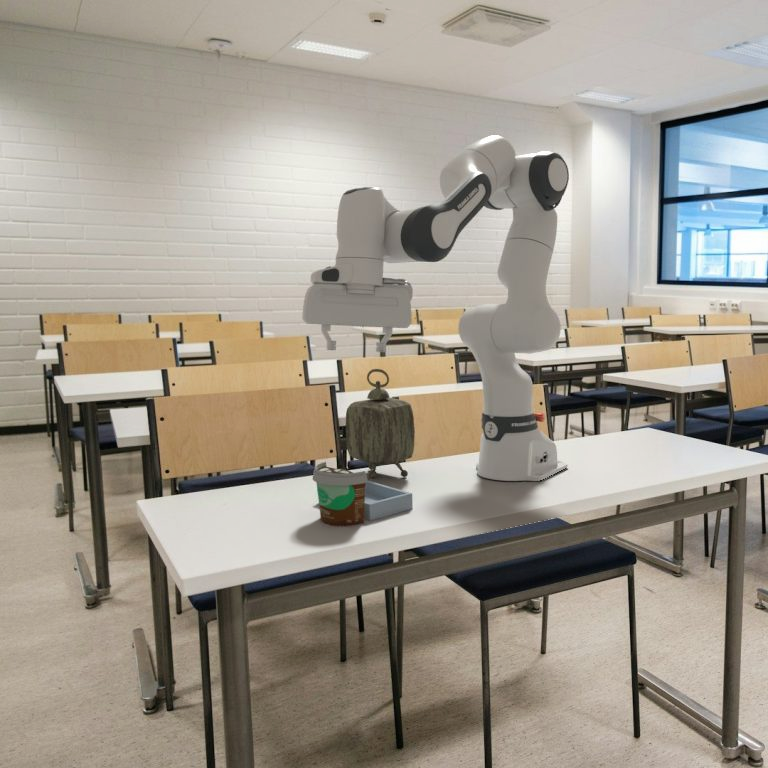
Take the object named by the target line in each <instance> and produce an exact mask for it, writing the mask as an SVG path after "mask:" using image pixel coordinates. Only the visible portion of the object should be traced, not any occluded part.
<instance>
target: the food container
mask: <svg viewBox="0 0 768 768" xmlns="http://www.w3.org/2000/svg"><path fill="white" fill-rule="evenodd" d="M366 472H367V471H366V470H363V471H358V472H357V471H356V472H352V471H350V470H348V469H346V468H333V467H329V466H327V461H323V462H320V463H317V464H316V465H315V467H314V470H313V475H312V481H313V482H314V483H315V484H316V488H317V489H316V491H317V499H318V506H319V514H320V521H321V523H323V524H324V525H328V526H332V527H353V526H354V527H355V526H358V525H362V524H364V523H365V519H364V504H365V483H367V482H368V481H369V479H368V475H367V473H366Z"/></svg>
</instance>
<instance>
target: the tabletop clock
mask: <svg viewBox="0 0 768 768" xmlns="http://www.w3.org/2000/svg"><path fill="white" fill-rule="evenodd" d="M372 373H382V374H383V375H384V376H385V378H386V382H385V383H383V384H381V381H380V380H377V381H376V382H372V381H371V380H370V375H371V374H372ZM366 379H367V382H368V384H369V385H370V386H372V387H374V388H373V389H371V390H370V391H369V393H368V395H367V397H366V399H364V400H358V401H357V400H356V401H354V402H352V403H350V404H349V406H347V408H346V412H345V413H346V414H345V439H346V448H347V451H348V452H347V453H348V456H350V457H351V458H353V459H355V460H357V461H360V462H363V463H367V464H368V469H369V470H371V472H369V473H370V474H369V476H370V477H371V478H372V479H375V478H376V477H377V476H378V472H377V471H376V470H377V466H379V465H380V466H385V465H390V464H393V465H395V466H396V468H398V469H399V471H400V476H401V477H403V478H406V477H408V473H409V472H408V471H407V470H405V469H403V467H402V465H401V463H400V462H401V461H405V460H408V459H411V458H413V455H414V451H415V433H416V432H415V418H414V412H413V408H412V405H411V404H410V403H409V402H407V401H406V400H403V399H399V398H393V397H390V394H389V392H388V391H387V390H386V389H384V387H387V385H388V384H389V382H390V377H389V374H388V373H387V371H385V370H383V369H380V368H374V369H371V370H369V372H367V375H366Z"/></svg>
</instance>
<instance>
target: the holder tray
mask: <svg viewBox="0 0 768 768" xmlns="http://www.w3.org/2000/svg"><path fill="white" fill-rule="evenodd" d="M413 507H414V506H413V492H410V491H406V490H402V489H398V488H395V487H392V486H388V485H385V484H382V483H378V482H374V481H371V480H368V482H367V483H365V504H364V520H367V521H370V522H371V521H374V520H378V519H383V518H386V517H390V516H393V515H395V514H398V513H403V512H406V511H409V510H413Z"/></svg>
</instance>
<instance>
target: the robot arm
mask: <svg viewBox="0 0 768 768" xmlns="http://www.w3.org/2000/svg"><path fill="white" fill-rule="evenodd" d="M569 178H570V175H569V168H568V164H567V163H566V161H565V160H564V158H563V157H562V155H561V154H559V153H558V152H552V151H540V152H537V153H528V154H521V155H516V150H515V149H514V146H513V145H512V143H510V141H509V140H508V139H506V138H505V137H503V136H500V135H494V134H493V135H489V136H485V137H483V138H480V139H478V140H477V141H474V142H473V143H471V144H469V145H468V146H466V147H465V148H463V149H462V150H461V151H459V152H458V153H457V154H455V155H454V156H452V158H450V159H449V161H448V162H447V163H446V164H445V165H444V166H443V168H442V170H441V171H440V176H439V185H440V190H441V192H442V195H443V197H444V199H443V200H442V201H441V202H440V203H436V204H429V205H425V206H420V207H417V208H411V209H406V210H400V209H398V208H397V207H395V206H394V205H393V204H392V203H390V201H389V200H388V199H387V198H386V196H384V191H383V189H382V188H379V187H377V186H364V187H357V188H353V189H352V188H351V189H348V190H346V191H345V192H344V193H343V194H342V196H341V197H340V200H339V205H338V210H337V220H336V238H337V243H338V248H337V252H336V255H335V265H334V266H333V265H331V266H327V267H325V268H322V269H318V270H315V271H313V272H312V273H311V274H310V282H311V286H309V287H308V288H307V289H306V292H305V295H304V300H303V305H302V317H301V318H302V320H303V322H304V323H305V325H321V327H320V330H321V333H322V335H323V337H324V339H325V340H326V350H327V351H336V350H337V347H336V345H337V340H332V338H331V336H330V334H329V332H330V331H331V329H332V328H331V326H347V327H349V326H350V327H365V328H366V327H369V328H382V334H384V336H383V337H382V339H381V341H380V342H377V341H376V344H375V346H376V348H375V351H376V353H377V352H378V353H386V351H387V343H388V341H389V340H390V338H391V337H392V335H393V331H394V329H408V328H409V327H410V326H411V324H412V322H413V321H412V319H413V318H412V304H411V302H412V299H413V292H414V291H413V285H412V284H411V283H410V282H409V281H406V279H405V278H391V277H384V263H387V264H401V263H402V264H403V263H404V264H405V263H414V262H415V263H418V262H420V263H421V262H423V263H437V262H440V261H442V260H443V259H445V258H446V257H447V256H448V255H449V254H450V252H451V251H452V249H453V247H454V246H455V243H456V242H457V239H458V237H459V235H460V234H461V232H462V231H463V230H464V229H465V228H466V226H467V225H468V224H469V223H470V222H471V221H472V220H473V219H474V218H475V216H477V214H479V212H480V211H481V210H482V209H483V207H484V208H486V209H489V210H494V211H495V210H496V211H501V210H504V209H508V210H509V209H511V210H512V221H511V224H510V227H509V229H508V232H507V236H506V239H505V242H504V246H503V249H502V252H501V256H500V259H499V265H498V267H497V272H496V273H497V277H498V279H499V281H500V283H501V284H502V285H503V286H504V287H505V288H506V289H507V293H508V294H507V299H506V302H505V303H486V304H485V303H483V304H480V305H477V306H474V307H469V308H467V309H466V310H464V312H463V313H461V316H460V318H459V322H458V335H459V338H460V341H461V342H462V343H463V344H464V346H466V347H467V348H468V349H469V351H471V354H472V355H473V358H474V359H475V361H476V364H477V367H478V370H479V372H480V377H481V383H482V396H483V397H482V399H483V412H482V413H481V419H480V421H481V422H480V423H481V429H482V430H483V431H482V434H481V436H480V443H479V444H480V445H479V455H478V462H476V466H475V467H476V469H477V470H476V474H477V475H478V476H479V477H481V478H484V479H489V480H495V481H504V482H505V481H506V482H509V481H510V482H518V481H519V482H520V481H521V482H522V481H529V482H530V481H531V482H541V481H540V480H542V481H544V480H546V479H548V478H550V477H552V476H554V475H553V474H555V473H557V472H559V471H561V470H563V469H565V468H567V467H569V466H568V463H566V462H563V461H561V460H558V449H557V446H556V443H555V442H554V441H553V440H552V439H550V437H548V436H547V435H546V434H544V432H543V431H541V430H540V429H539V424H538V422H539V423H543V422H545V419H546V417H545V416H546V415H545V413H541V412H535V413H534V412H533V405H534V403H533V381H532V378H531V375H530V374H528V373H527V372H526V371H525V370H524V369H523V368H521V366H520V365H519V363H518V361H517V358H516V354H529V355H530V354H536V353H541V352H545V351H550V350H551V349H553V348H554V346H555V345H556V344H557V343H558V341H559V338H560V335H561V328H562V327H561V326H562V325H561V320H560V318H559V316H558V314H557V312H556V310H554V309H553V308H552V306H551V305H550V303H549V301H548V297H547V279H548V275H549V270H550V265H551V262H552V261H551V260H552V257H553V254H554V248H555V244H556V237H557V230H558V213H557V211H556V210H555V208H557V207H558V206H559V205H560V203H561V201H562V197H563V196H564V194H565V193H566V190H567V189H568V184H569ZM567 469H568V468H567ZM565 470H566V469H565ZM563 471H564V470H563ZM561 472H562V471H561ZM559 473H560V472H559ZM557 474H558V473H557ZM551 475H552V476H551ZM555 475H556V474H555ZM549 476H550V477H549ZM547 477H548V478H547ZM545 478H546V479H545ZM543 479H544V480H543Z"/></svg>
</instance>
